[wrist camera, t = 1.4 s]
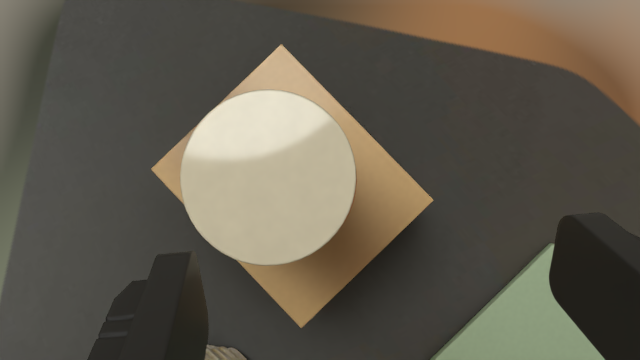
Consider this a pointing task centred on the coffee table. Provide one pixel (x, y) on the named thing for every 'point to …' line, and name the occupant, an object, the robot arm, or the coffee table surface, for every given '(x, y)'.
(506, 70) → the coffee table surface
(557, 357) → the mat
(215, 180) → the banded jar
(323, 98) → the stand
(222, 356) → the fossil tooth
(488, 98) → the coffee table surface
